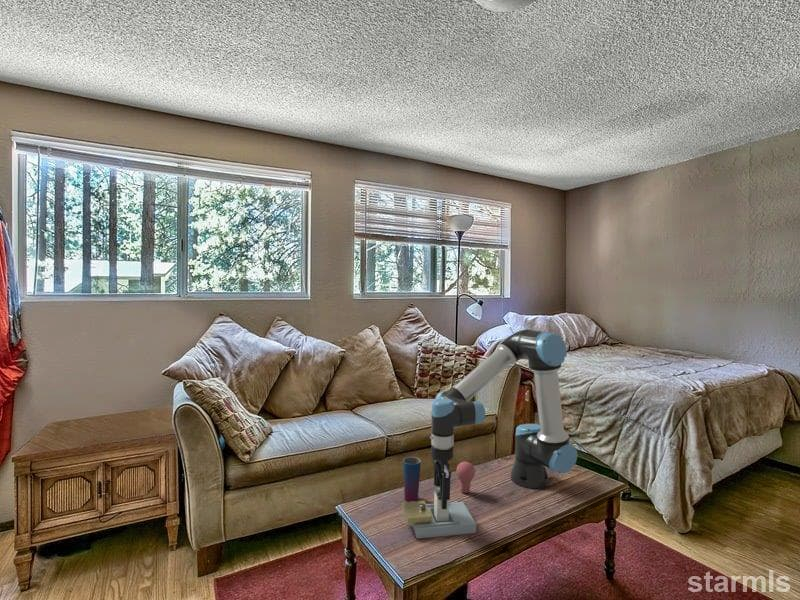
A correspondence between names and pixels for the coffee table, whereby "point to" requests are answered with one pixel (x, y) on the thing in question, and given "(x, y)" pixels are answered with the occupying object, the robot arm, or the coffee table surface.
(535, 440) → the robot arm
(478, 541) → the coffee table surface
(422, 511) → the panel
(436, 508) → the plug
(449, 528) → the socket board
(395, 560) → the coffee table surface
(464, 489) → the light bulb
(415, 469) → the cup
